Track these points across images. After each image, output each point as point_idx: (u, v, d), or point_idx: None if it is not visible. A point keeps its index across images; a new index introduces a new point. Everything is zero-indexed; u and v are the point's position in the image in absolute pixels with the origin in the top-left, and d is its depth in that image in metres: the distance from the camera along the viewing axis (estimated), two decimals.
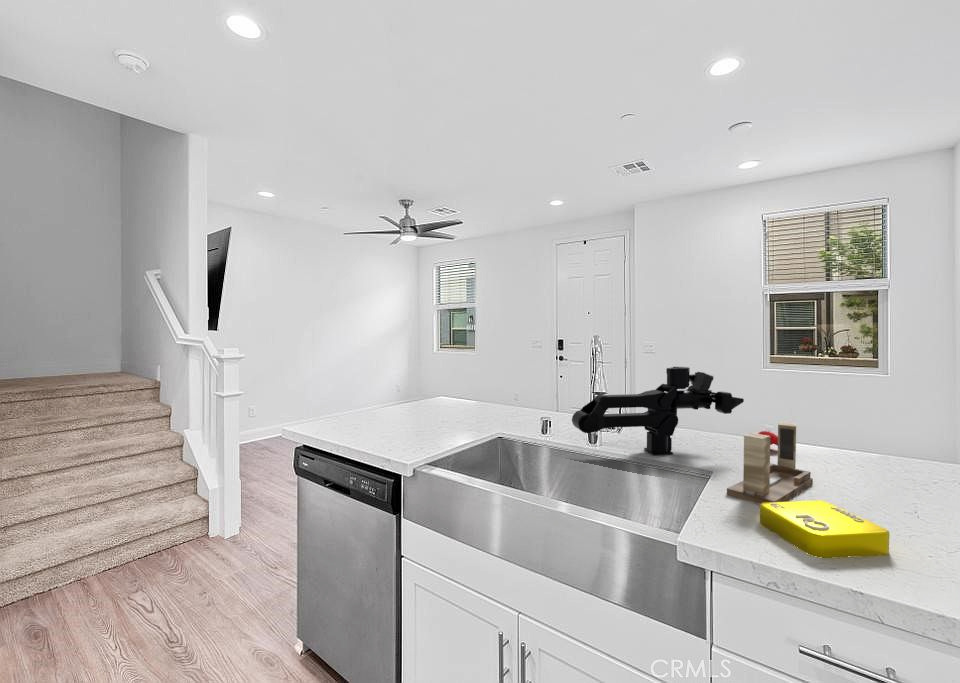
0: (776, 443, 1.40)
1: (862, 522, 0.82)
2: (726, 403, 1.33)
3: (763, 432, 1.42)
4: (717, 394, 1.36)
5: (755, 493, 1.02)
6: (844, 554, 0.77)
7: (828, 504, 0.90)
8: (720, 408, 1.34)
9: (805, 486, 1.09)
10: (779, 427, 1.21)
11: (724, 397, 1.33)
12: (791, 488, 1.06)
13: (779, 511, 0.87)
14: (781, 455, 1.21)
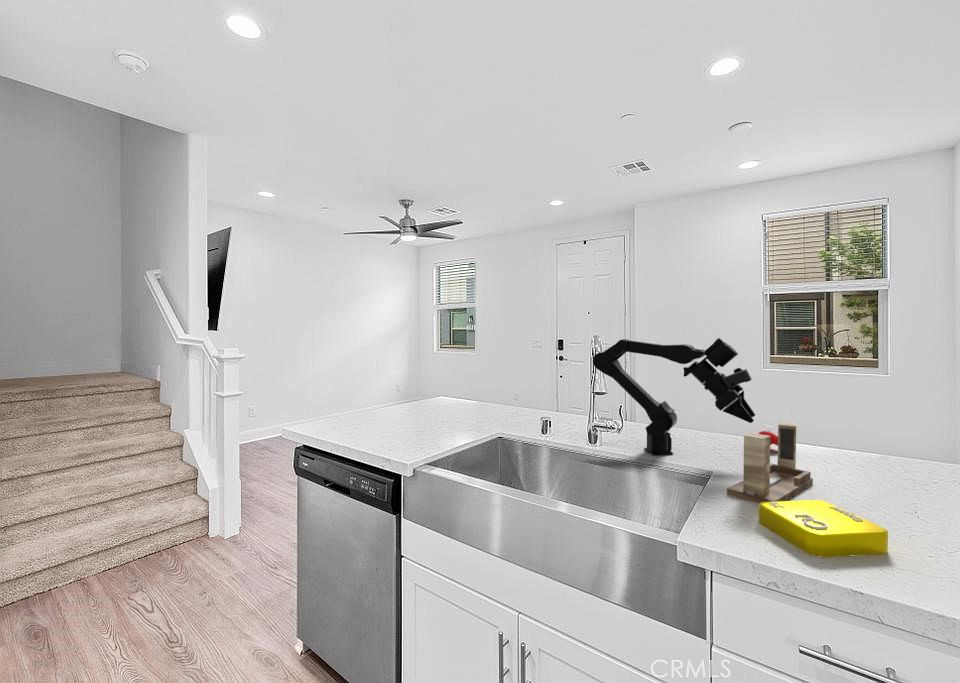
0: (776, 443, 1.40)
1: (861, 521, 0.82)
2: (724, 398, 1.22)
3: (763, 432, 1.42)
4: (730, 389, 1.24)
5: (755, 493, 1.02)
6: (843, 553, 0.77)
7: (827, 503, 0.90)
8: (717, 399, 1.24)
9: (805, 486, 1.09)
10: (779, 427, 1.21)
11: (728, 393, 1.21)
12: (791, 488, 1.06)
13: (778, 511, 0.87)
14: (781, 455, 1.21)
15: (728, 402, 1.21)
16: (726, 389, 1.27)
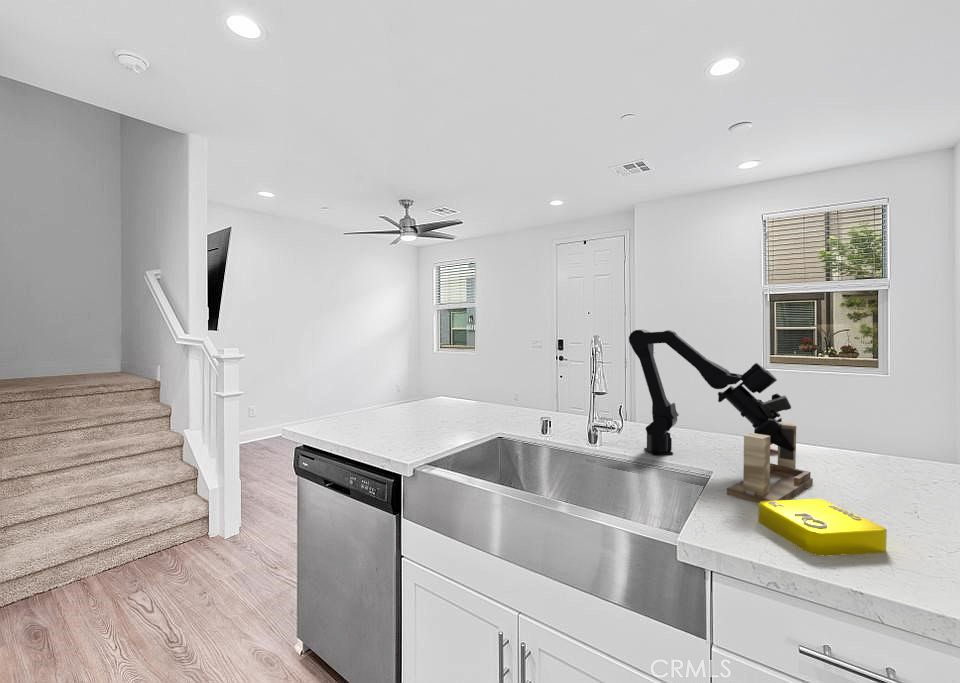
0: None
1: (860, 520, 0.83)
2: (764, 427, 1.17)
3: None
4: (769, 418, 1.19)
5: (755, 493, 1.02)
6: (842, 552, 0.78)
7: (826, 502, 0.91)
8: (756, 428, 1.19)
9: (805, 486, 1.09)
10: None
11: (768, 422, 1.16)
12: (791, 488, 1.06)
13: (778, 510, 0.87)
14: (781, 455, 1.21)
15: (768, 432, 1.16)
16: (764, 417, 1.22)
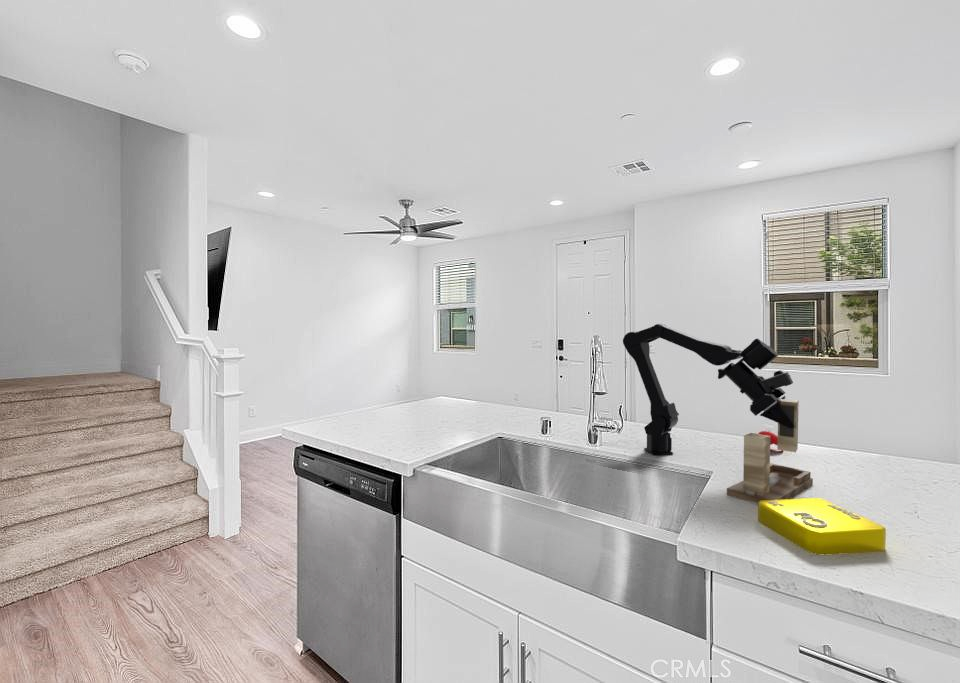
0: (776, 443, 1.40)
1: (859, 519, 0.83)
2: (759, 402, 1.14)
3: (763, 432, 1.42)
4: (767, 393, 1.16)
5: (755, 493, 1.02)
6: (842, 551, 0.78)
7: (825, 501, 0.91)
8: (752, 403, 1.16)
9: (805, 486, 1.09)
10: None
11: (764, 397, 1.14)
12: (791, 488, 1.06)
13: (777, 509, 0.88)
14: (781, 432, 1.17)
15: (764, 407, 1.14)
16: (764, 393, 1.19)
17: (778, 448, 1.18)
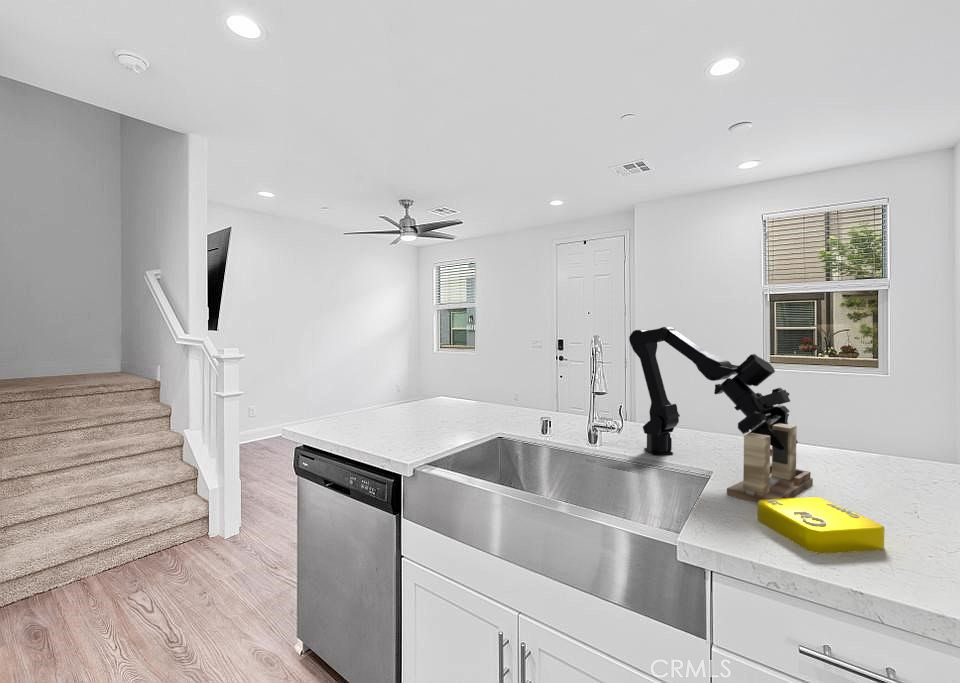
0: None
1: (858, 518, 0.83)
2: (746, 420, 1.11)
3: None
4: (756, 412, 1.12)
5: (755, 493, 1.02)
6: (841, 549, 0.79)
7: (824, 500, 0.92)
8: (741, 421, 1.13)
9: (805, 486, 1.09)
10: (773, 428, 1.13)
11: (751, 415, 1.11)
12: (791, 488, 1.06)
13: (777, 508, 0.88)
14: (774, 458, 1.13)
15: (750, 425, 1.11)
16: (757, 411, 1.15)
17: (772, 474, 1.14)
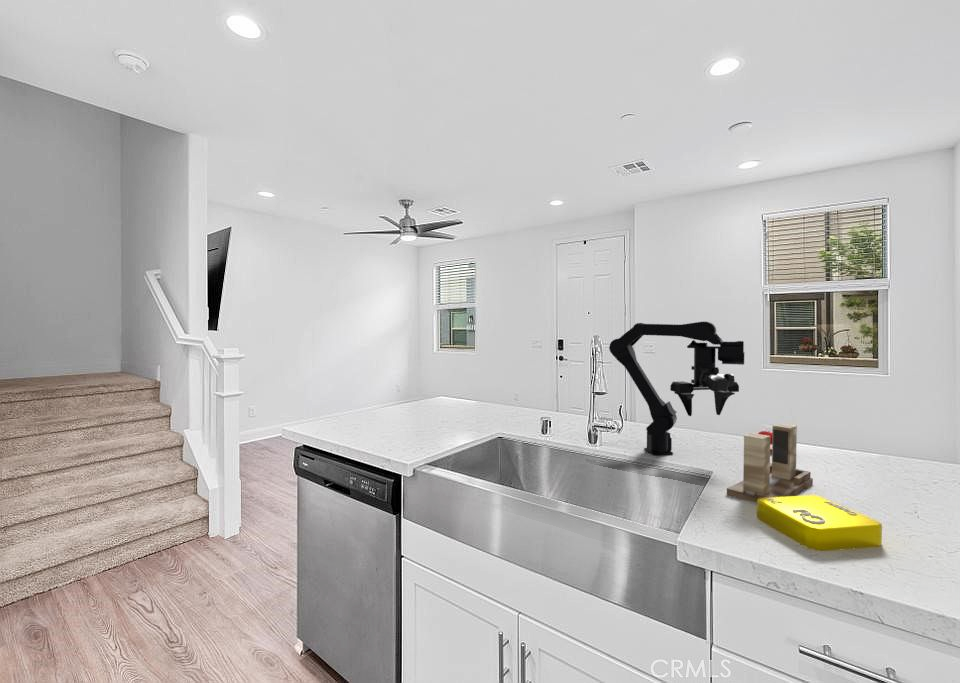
0: None
1: (855, 515, 0.85)
2: (675, 385, 1.32)
3: (763, 432, 1.42)
4: (689, 384, 1.31)
5: (755, 493, 1.02)
6: (840, 546, 0.80)
7: (821, 498, 0.93)
8: None
9: (805, 486, 1.09)
10: (773, 428, 1.13)
11: (679, 384, 1.31)
12: (791, 488, 1.06)
13: (776, 506, 0.89)
14: (774, 458, 1.13)
15: (675, 390, 1.32)
16: (698, 381, 1.32)
17: (772, 474, 1.14)
